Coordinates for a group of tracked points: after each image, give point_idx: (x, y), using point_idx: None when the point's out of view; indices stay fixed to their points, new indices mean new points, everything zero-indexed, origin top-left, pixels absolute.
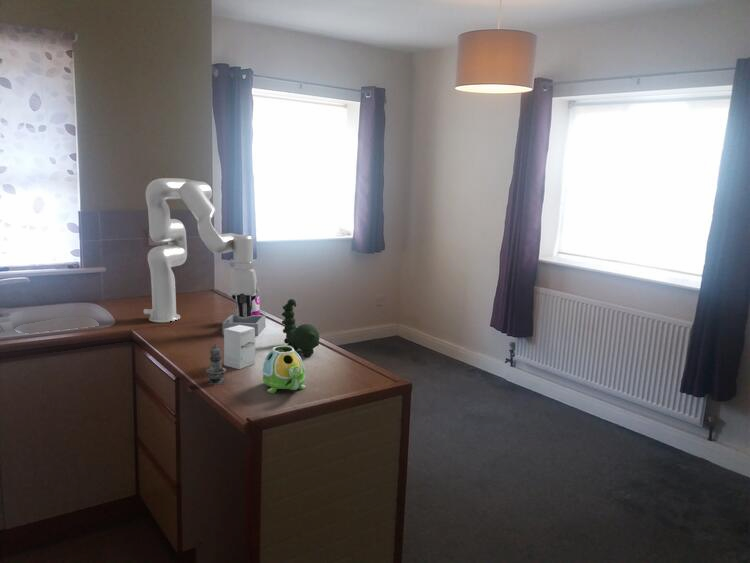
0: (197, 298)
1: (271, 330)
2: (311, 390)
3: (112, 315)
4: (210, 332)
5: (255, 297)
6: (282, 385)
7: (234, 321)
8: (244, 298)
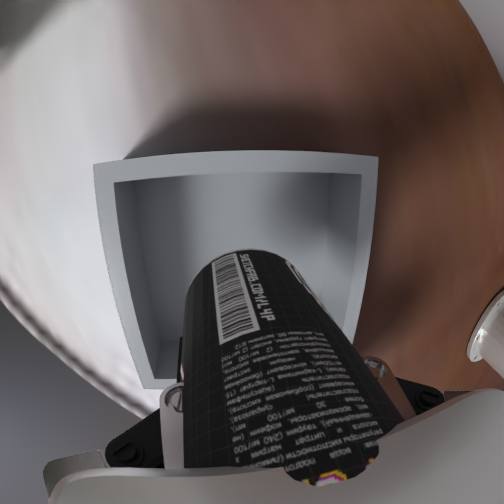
0: None
1: (95, 289)
2: None
3: None
4: (399, 197)
5: (108, 451)
6: None
7: None
8: (261, 397)
